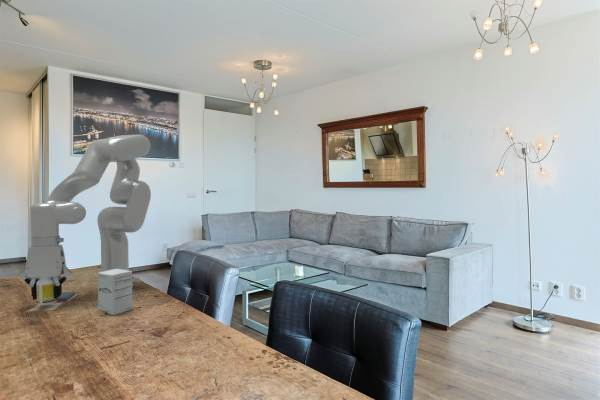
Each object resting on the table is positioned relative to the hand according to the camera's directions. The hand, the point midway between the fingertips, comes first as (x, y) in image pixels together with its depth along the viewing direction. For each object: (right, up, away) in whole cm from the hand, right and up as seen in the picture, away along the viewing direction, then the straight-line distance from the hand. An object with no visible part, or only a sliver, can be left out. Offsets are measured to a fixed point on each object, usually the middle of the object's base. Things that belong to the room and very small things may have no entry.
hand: (46, 297), depth 124 cm
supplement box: (+23, -4, -1) cm, 23 cm away
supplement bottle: (0, -2, 0) cm, 2 cm away
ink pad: (-2, -3, +9) cm, 9 cm away
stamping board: (-1, -4, +4) cm, 6 cm away
